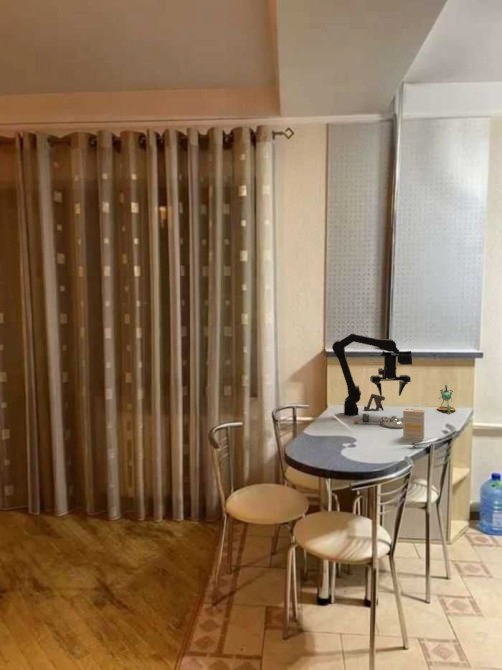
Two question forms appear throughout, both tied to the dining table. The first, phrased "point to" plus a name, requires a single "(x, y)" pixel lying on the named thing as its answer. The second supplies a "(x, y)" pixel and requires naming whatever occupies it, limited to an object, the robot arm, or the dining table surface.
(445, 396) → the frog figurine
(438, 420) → the dining table surface
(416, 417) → the supplement box
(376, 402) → the portable electronic device stand
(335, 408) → the dining table surface
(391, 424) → the gear crank handle
